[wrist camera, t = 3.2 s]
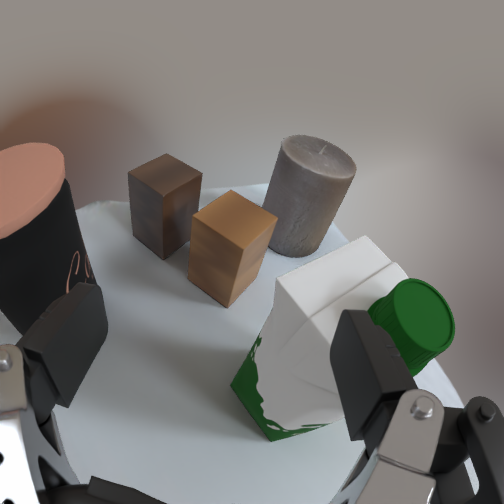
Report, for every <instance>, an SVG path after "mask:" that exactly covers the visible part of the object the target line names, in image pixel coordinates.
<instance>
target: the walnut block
mask: <svg viewBox="0 0 504 504" xmlns="http://www.w3.org/2000/svg"><path fill="white" fill-rule="evenodd" d="M201 181H202V173H201V172H199V171H198V170H196V169H194V168H192V167H190V166H189V165H187V164H185V163H183V162H182V161H180V160H178V159H176V158H174V157H172V156H171V155H169V154H164V155H162V156H160V157H158V158H156V159H154V160H151V161H149V162H147V163H145V164H143V165H141V166H139V167H138V168H135V169H133V170H131V171H129V172H128V184H129V197H130V210H131V220H132V230H133V236H135V237H136V238H137V239H138V240H139V241H141V242H142V243H143V244H144V245H146V246H147V247H148V248H149V249H150V250H152V251H153V252H154V253H155V254H157V255H158V256H159V257H160V258H162V259H163V260H164V259H166V258H167V257H168V256H169V255H171V254H172V253H173V252H174V251H176V250H177V249H178V248H180V247H181V246H182V245H184V244H185V243H186V242H187V241H189V240H190V238H191V226H192V216H193V215H194V214H195V213H197V212H198V206H199V198H200V189H201Z"/></svg>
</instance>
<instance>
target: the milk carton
mask: <svg viewBox="0 0 504 504" xmlns="http://www.w3.org/2000/svg"><path fill="white" fill-rule="evenodd" d="M344 309H351V310H366V311H367V312H368V313H369V315H370V317H371V319H372V321H373V323H374V325H380V326H381V327H382V328H383V329H384V330H385V331H386V332H387V333H388V334H390V336H391V338H392V340H393V341H394V343H395V345H396V348H397V349H398V351H399V352H400V354H401V355H400V357H402V358H403V360H404V362H405V364H406V366H407V367H408V369H409V371H410V373H411V375H412V377H414V376H415V375H417V374H418V373H419V372H420V371H421V370H422V369H423V368H424V367H425V366H426V365H427V363H428V362H429V361H430V360H432V359H433V358H435V357H436V356H437V355H439V354H440V353H442V352H443V351H445V350H446V349H447V348H448V347H449V346H450V345H451V343H452V341H453V338H454V334H455V323H454V318H453V315H452V312H451V309H450V308H449V306H448V304H447V302H446V301H445V299H444V298H443V296H442V295H441V294H440V293H439V292H438V291H437V290H436V289H435V288H434V287H432V286H431V285H429V284H428V283H426V282H424V281H422V280H419V279H412V278H408V277H407V275H406V273H405V272H404V271H403V270H402V268H400V266H399V265H398V264H397V263H396V262H393V263H392V262H391V261H390V260H389V259H388V257H387V256H386V255H385V254H384V253H383V252H382V251H381V250H380V249H379V248H378V247H377V246H376V245H375V244H374V243H373V242H372V241H371V240H370V239H369V238H368V237H367V236H366V235H365V236H362V237H360V238H358V239H356V240H354V241H353V242H350V243H348V244H346V245H344V246H342V247H340V248H338V249H336V250H334V251H332V252H330V253H328V254H326V255H324V256H322V257H320V258H318V259H315V260H313V261H311V262H309V263H307V264H305V265H303V266H301V267H299V268H297V269H294V270H292V271H290V272H288V273H286V274H284V275H282V276H280V277H278V278H276V285H275V295H274V304H273V308H272V310H271V312H270V314H269V316H268V318H267V320H266V322H265V324H264V326H263V328H262V330H261V331H260V333H259V335H258V337H257V339H256V341H255V343H254V345H253V346H252V348H251V350H250V352H249V354H248V355H247V357H246V359H245V361H244V362H243V364H242V366H241V368H240V369H239V371H238V373H237V374H236V376H235V378H234V379H233V381H232V383H231V384H230V386H231V387H232V389H233V390H234V392H235V393H236V395H237V396H238V398H239V399H240V400H241V402H242V403H243V405H244V406H245V408H246V409H247V410H248V412H249V413H250V415H251V416H252V417H253V419H254V420H255V421H256V423H257V424H258V425H259V427H260V428H261V430H262V431H263V432H264V434H265V435H266V436H267V438H268V439H269V440H270V441H271V442H272V441H276V440H280V439H284V438H288V437H292V436H295V435H299V434H302V433H306V432H309V431H311V430H314V429H317V428H320V427H322V426H325V425H328V424H330V423H333V422H335V421H338V420H340V419H343V418H345V416H344V412H343V408H342V404H341V400H340V397H339V393H338V389H337V385H336V382H335V378H334V375H333V371H332V367H331V364H330V347H331V343H332V340H333V337H334V334H335V331H336V328H337V325H338V321H339V318H340V315H341V313H342V311H343V310H344Z"/></svg>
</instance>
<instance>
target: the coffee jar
mask: <svg viewBox="0 0 504 504" xmlns="http://www.w3.org/2000/svg"><path fill="white" fill-rule="evenodd" d="M79 282H81V283H88V284H94V285H97V283H96V280H95V277H94V274H93V271H92V268H91V265H90V262H89V258H88V255H87V252H86V249H85V245H84V242H83V238H82V235H81V231H80V228H79V224H78V220H77V216H76V212H75V208H74V204H73V200H72V195H71V190H70V185H69V183H68V181H67V180H66V179H65V164H64V156H63V154H62V153H61V152H60V151H59V150H58V149H57V147H54V146H51V145H49V144H46V143H27V144H22V145H17V146H14V147H10V148H8V149H5V150H2V151H0V310H1V311H2V312H3V314H4V315H5V316H6V317H7V318H8V320H9V321H10V322H11V323H12V324H13V325H14V327H15V328H16V329H17V330H18V331H19V332H20V333H21V334H22V336H23V335H24V334H25V333H26V332H27V331H28V329H29V328H30V327H31V326H32V325H33V324H34V322H35V321H36V320H37V319H38V320H39V317H40V316H41V314H42V313H43V312H45V310H46V309H47V308H48V307H49V305H50V304H51V303H52V302H53V301H55V300H56V299H58V298H60V297H61V296H63V295H65V294H67V293H68V292H69V291H70V290H71V289H72V288H73V287H74V286H75V285H76V284H77V283H79Z"/></svg>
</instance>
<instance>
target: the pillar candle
mask: <svg viewBox="0 0 504 504" xmlns="http://www.w3.org/2000/svg"><path fill="white" fill-rule="evenodd" d="M355 173H356V165H355V163H354V162H353V160H352V158H351V157H350V156H349V155H348V154H346V153H345V152H344V151H343V150H341V149H340V148H338V147H337V146H335V145H333V144H331V143H329V142H327V141H325V140H322V139H319V138H315V137H311V136H306V135H293V136H289V137H287V138H283V140H282V141H281V148H280V151H279V154H278V158H277V161H276V164H275V168H274V171H273V174H272V177H271V181H270V184H269V187H268V190H267V193H266V197H265V200H264V203H263V206H262V208H263V209H264V210H266V211H268V212H269V213H271V214H273V215H274V216H276V217H278V219H277V222H276V225H275V228H274V231H273V233H272V236H271V239H270V242H269V244H268V246H269V247H270V248H271V249H273V250H274V251H276V252H278V253H280V254H282V255H286V256H289V257H305V256H308V255H310V254H312V253H313V252H315V251H316V250H317V249H318V247H319V245H320V243H321V242H322V240H323V238H324V236H325V234H326V232H327V230H328V228H329V226H330V225H331V223H332V221H333V219H334V217H335V215H336V212H337V211H338V208H339V207H340V205H341V203H342V201H343V199H344V197H345V194H346V193H347V190H348V188H349V186H350V184H351V182H352V180H353V178H354V176H355Z"/></svg>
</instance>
